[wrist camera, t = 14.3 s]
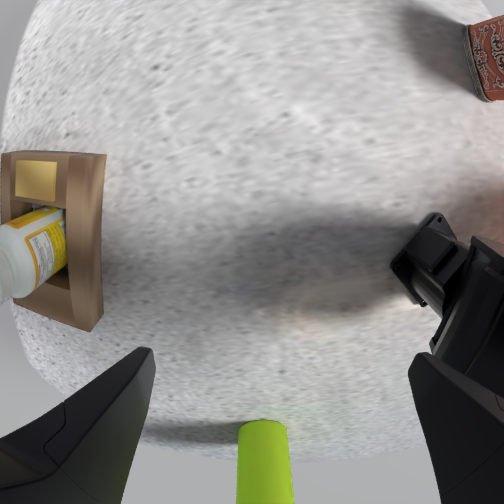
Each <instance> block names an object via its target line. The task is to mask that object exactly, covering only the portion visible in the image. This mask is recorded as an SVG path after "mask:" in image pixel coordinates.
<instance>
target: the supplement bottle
mask: <svg viewBox="0 0 504 504" xmlns="http://www.w3.org/2000/svg"><path fill="white" fill-rule="evenodd" d="M66 264H68V261H67V242H66V209H64V208H58V207H52V206H45V207H42V208H40V209H37V210H35V211H32V212H30V213H27V214H25V215H23V216H20V217H18V218H16V219H14V220H11V221H9V222H7V223H5V224H2V225H0V306H1V305H2V304H3V303H4V302H6V301H7V300H8V299H9V298H10V297H14V298H23V297H26V296H27V295H29V294H30V293H31V292H33V291H34V290H35V289H36V288H37V287H39V286H40V285H41V284H42V283H44V282H45V281H46V280H47V279H48V278H50V277H51V276H52V275H53V274H55V273H56V272H57V271H58V270H60V269H61V268H62V267H64V266H65V265H66Z"/></svg>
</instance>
